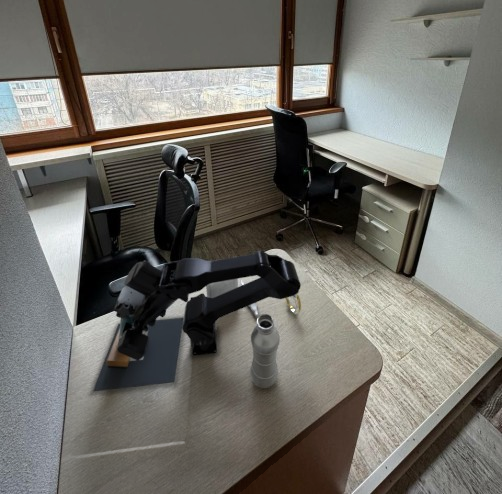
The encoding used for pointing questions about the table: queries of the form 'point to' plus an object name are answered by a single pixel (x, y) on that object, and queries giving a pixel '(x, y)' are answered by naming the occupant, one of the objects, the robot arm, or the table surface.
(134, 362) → the desk mat
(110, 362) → the peg on wooden base
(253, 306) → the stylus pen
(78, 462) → the table surface
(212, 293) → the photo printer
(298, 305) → the gold diamond ring
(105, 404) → the table surface
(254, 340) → the plastic bottle
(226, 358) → the table surface
